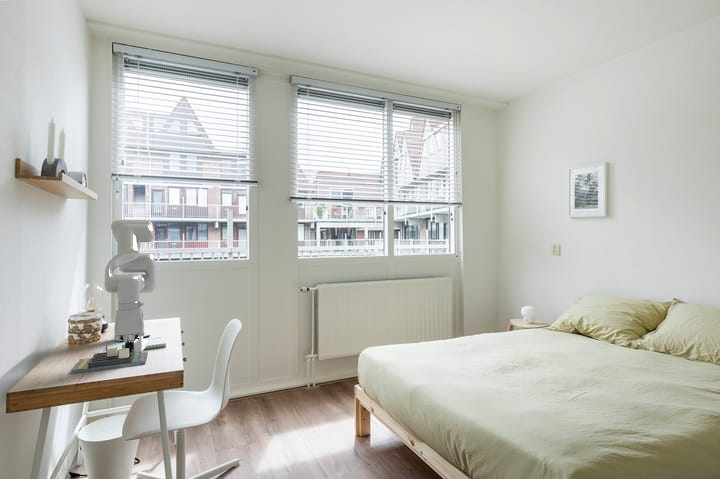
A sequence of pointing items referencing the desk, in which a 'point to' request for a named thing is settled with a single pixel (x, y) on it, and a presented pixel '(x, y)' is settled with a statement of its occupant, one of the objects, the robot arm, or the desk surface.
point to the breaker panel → (109, 362)
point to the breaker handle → (124, 353)
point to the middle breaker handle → (112, 351)
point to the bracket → (140, 344)
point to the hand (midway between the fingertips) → (129, 351)
